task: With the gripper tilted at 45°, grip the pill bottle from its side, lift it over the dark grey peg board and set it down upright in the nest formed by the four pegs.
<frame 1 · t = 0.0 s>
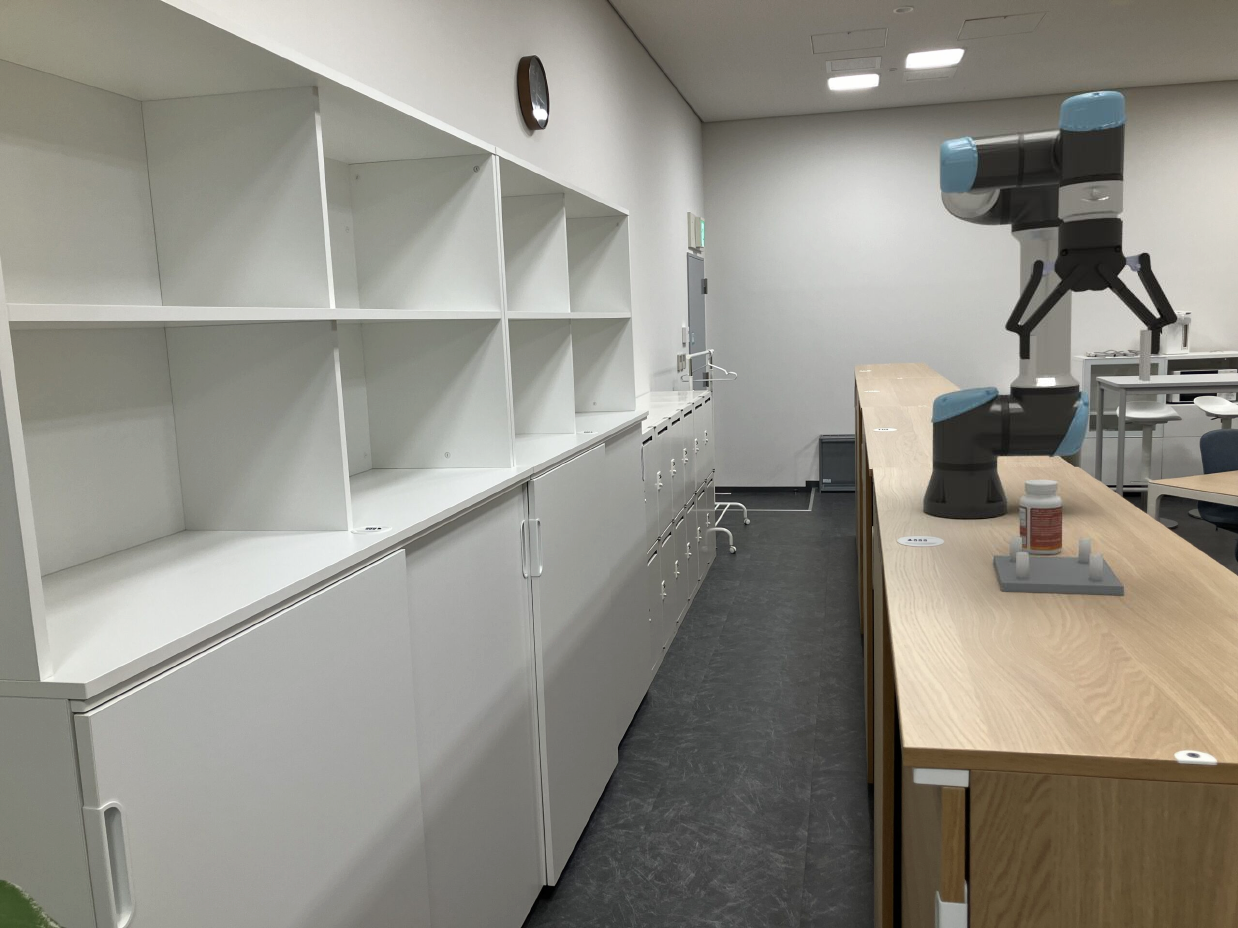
hand: (1087, 382, 124), 28 cm above the worktop, tool pointing down, fingers open, 13 cm apart
peg board: (1054, 577, 133), on the worktop
pill bottle: (1040, 551, 148), on the worktop
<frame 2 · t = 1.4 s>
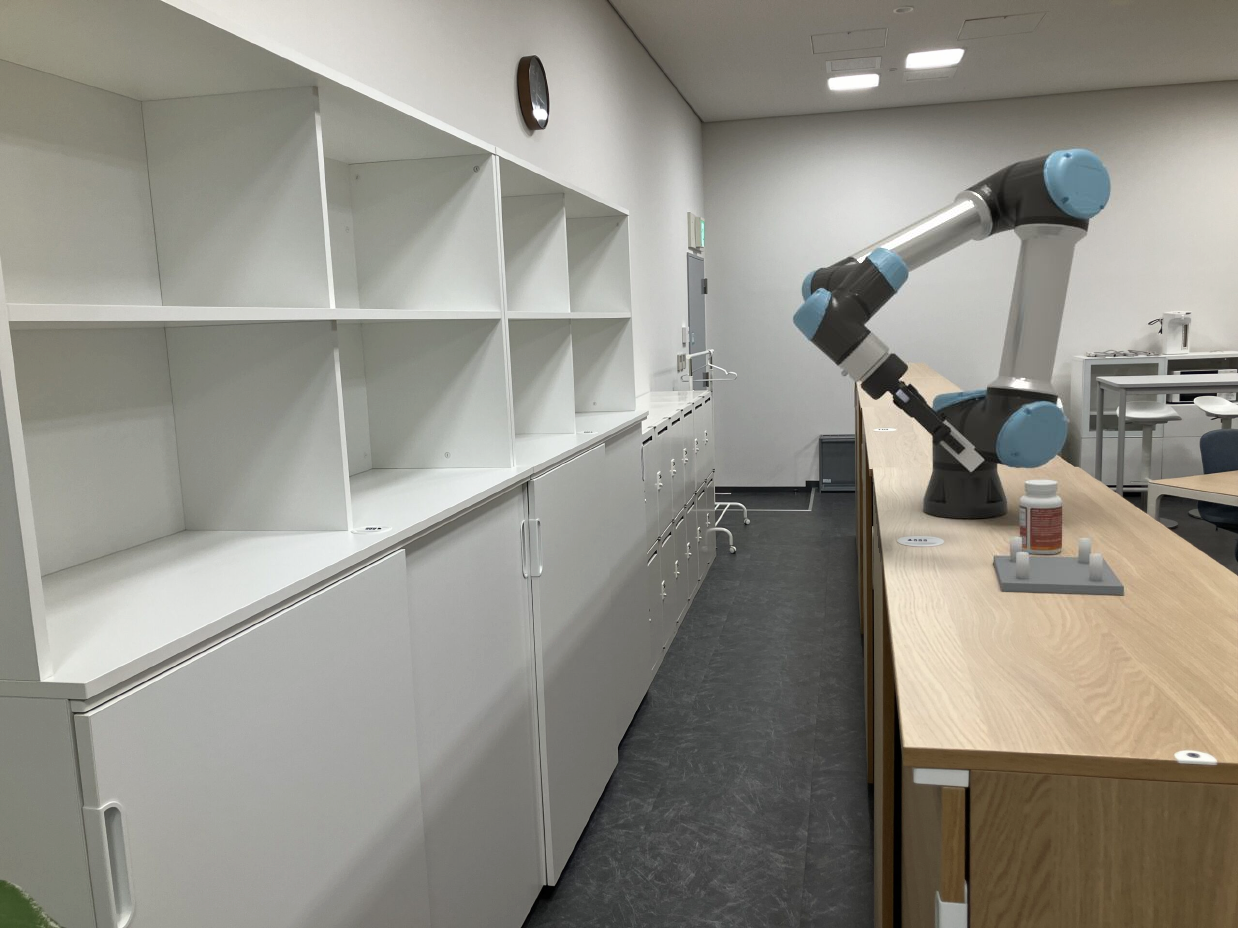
hand: (973, 459, 148), 15 cm above the worktop, tool tilted 45°, fingers open, 13 cm apart
nothing on the worktop moved.
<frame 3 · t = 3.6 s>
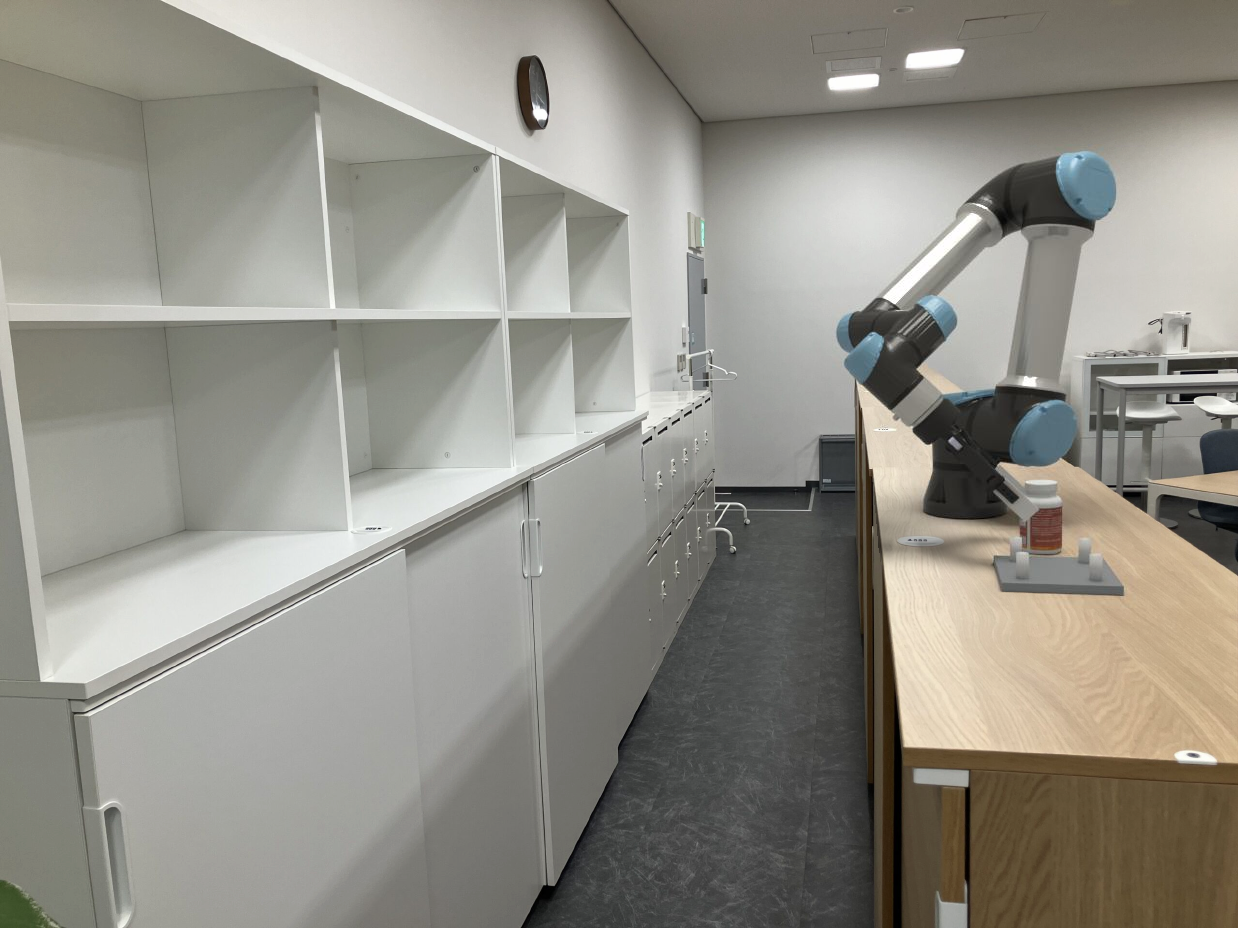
hand: (1027, 506, 146), 7 cm above the worktop, tool tilted 45°, fingers open, 13 cm apart
nothing on the worktop moved.
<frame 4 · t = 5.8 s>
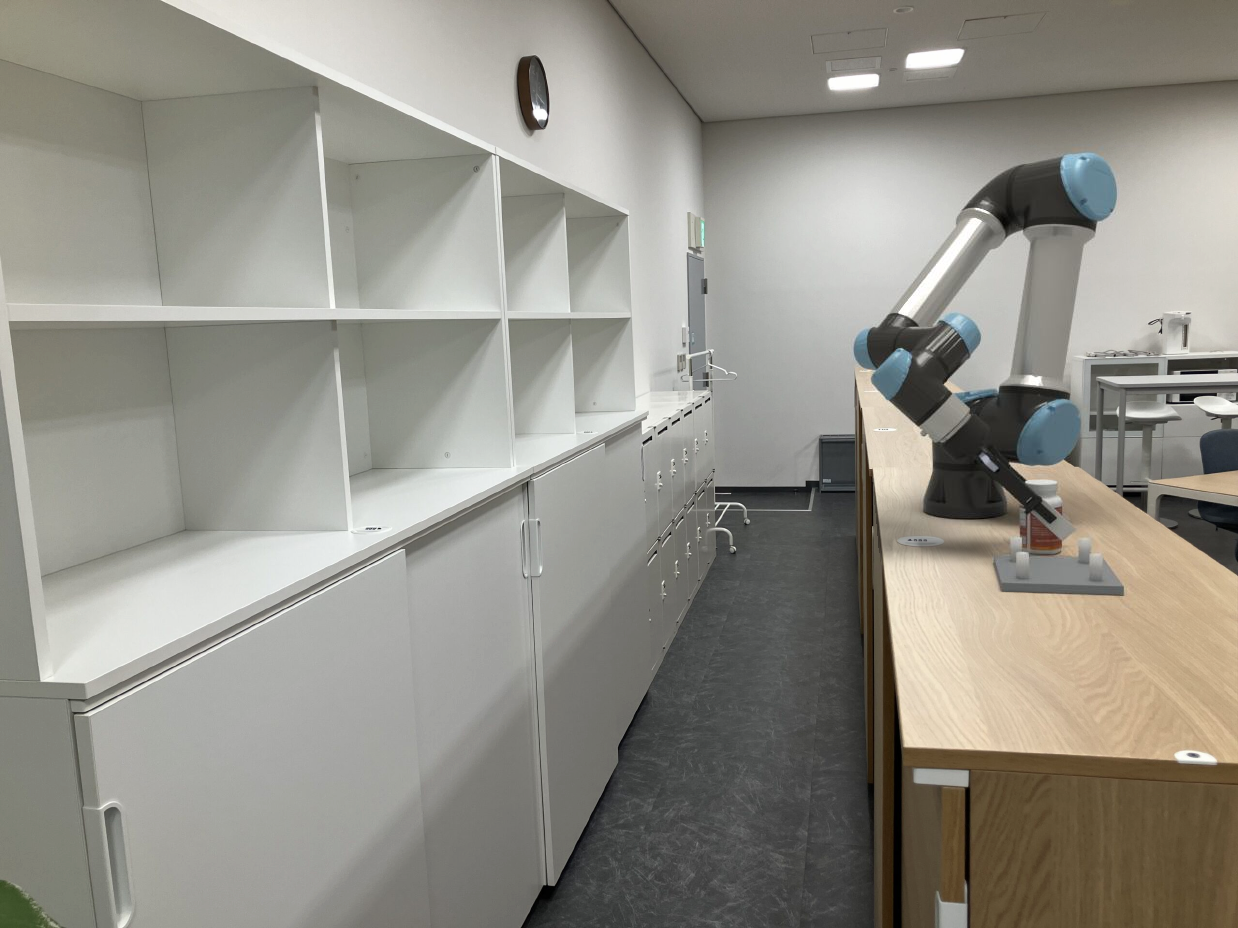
hand: (1065, 529, 146), 3 cm above the worktop, tool tilted 45°, fingers closed on pill bottle, 6 cm apart
pill bottle: (1040, 551, 148), on the worktop, touching gripper
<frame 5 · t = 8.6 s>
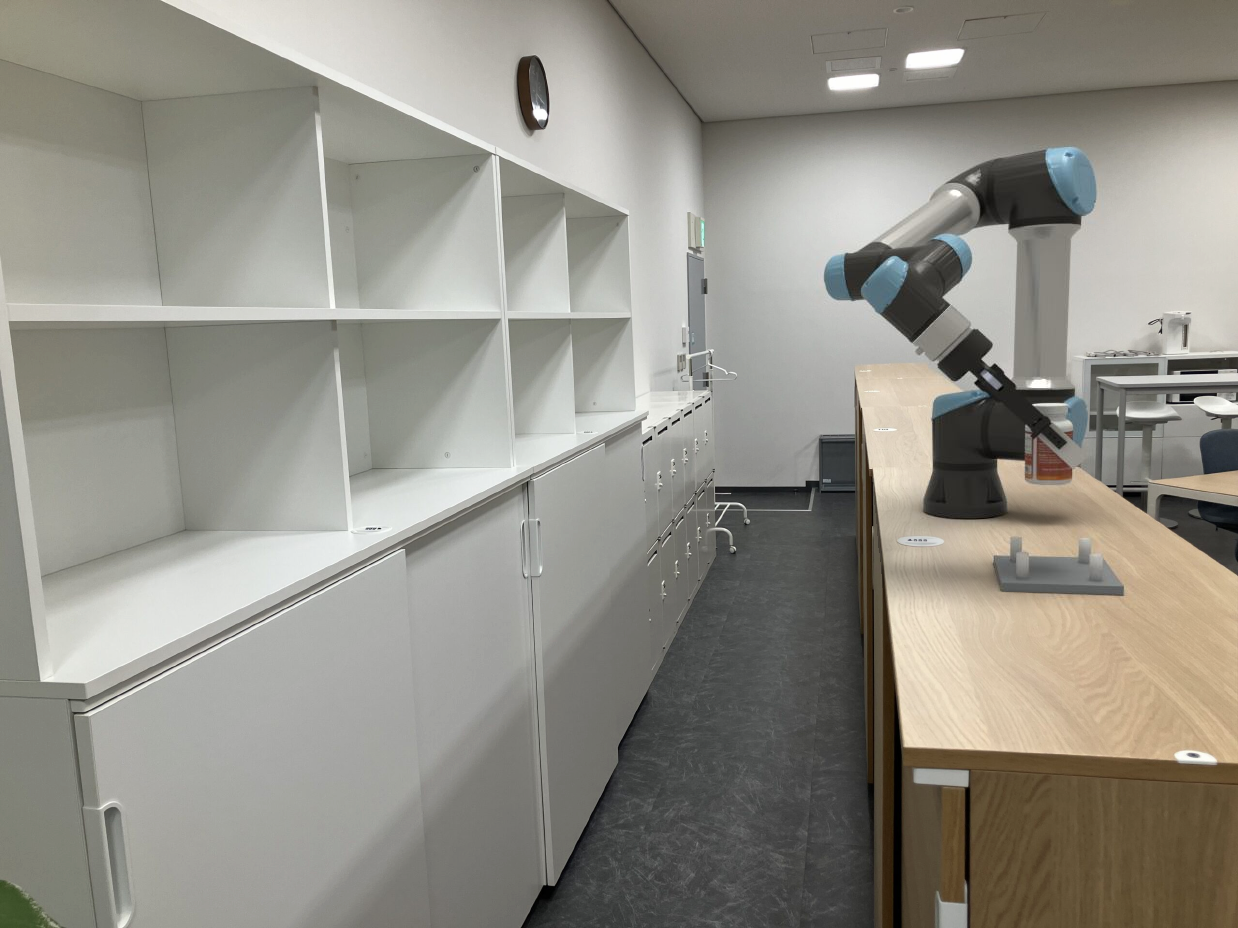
hand: (1077, 458, 130), 17 cm above the worktop, tool tilted 45°, fingers closed on pill bottle, 6 cm apart
pill bottle: (1047, 483, 132), point 13 cm above the worktop, touching gripper
when the fingers open (6 cm above the worktop, at t = 11.6 s): pill bottle drops 1 cm, resting on peg board.
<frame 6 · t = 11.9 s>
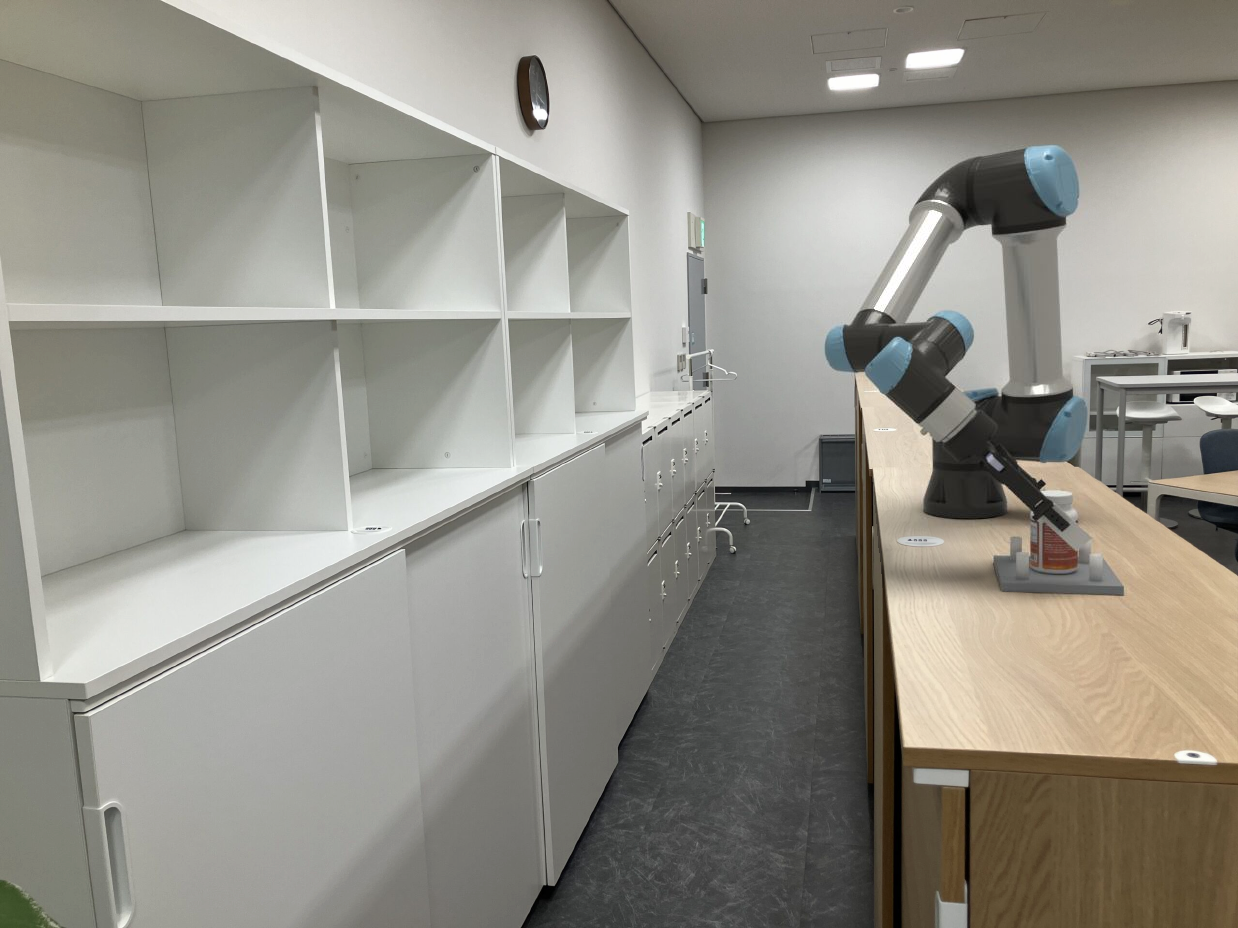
hand: (1077, 534, 131), 6 cm above the worktop, tool tilted 45°, fingers open, 10 cm apart
pill bottle: (1053, 570, 133), point 1 cm above the worktop, touching peg board
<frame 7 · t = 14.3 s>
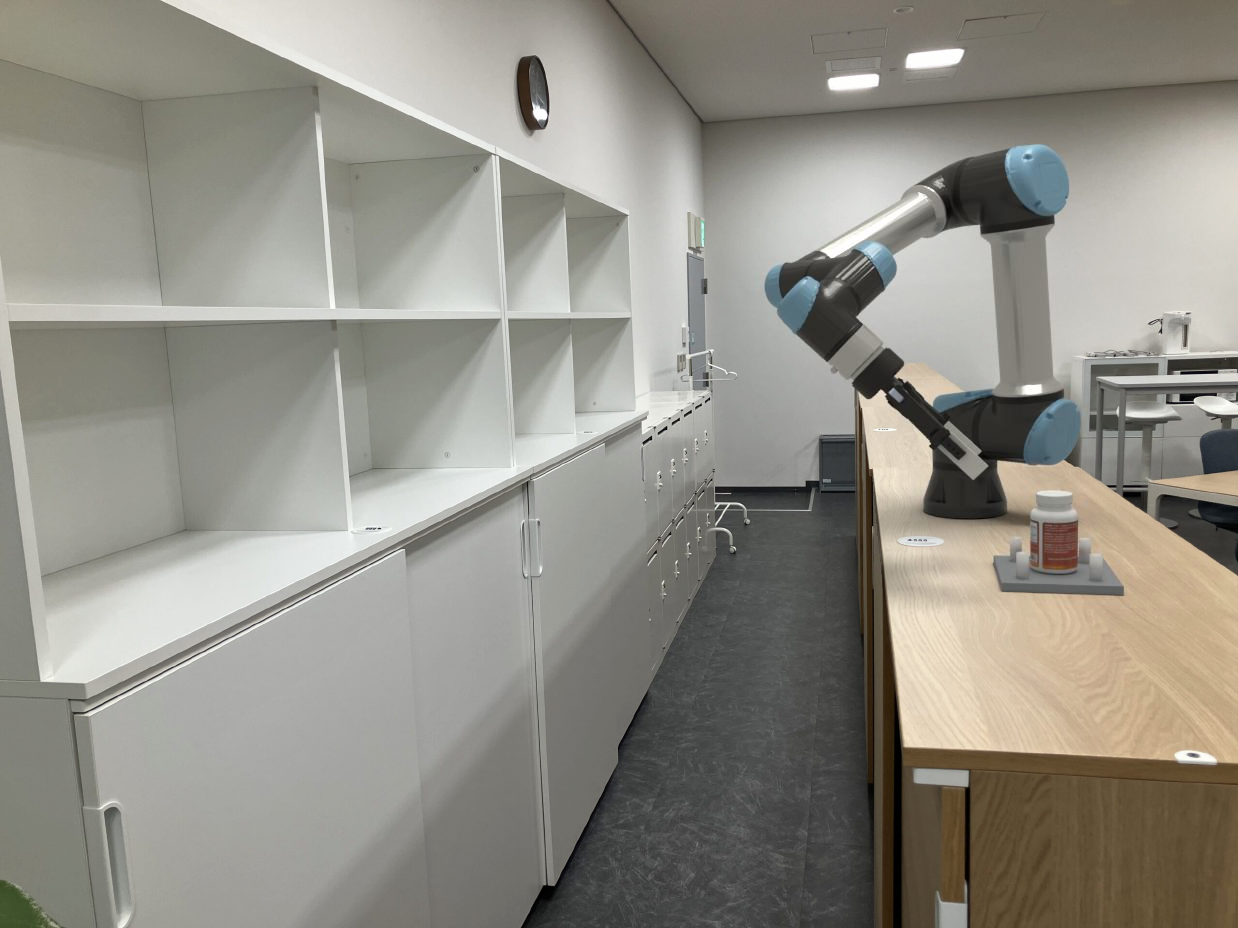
hand: (977, 464, 133), 16 cm above the worktop, tool tilted 45°, fingers open, 13 cm apart
nothing on the worktop moved.
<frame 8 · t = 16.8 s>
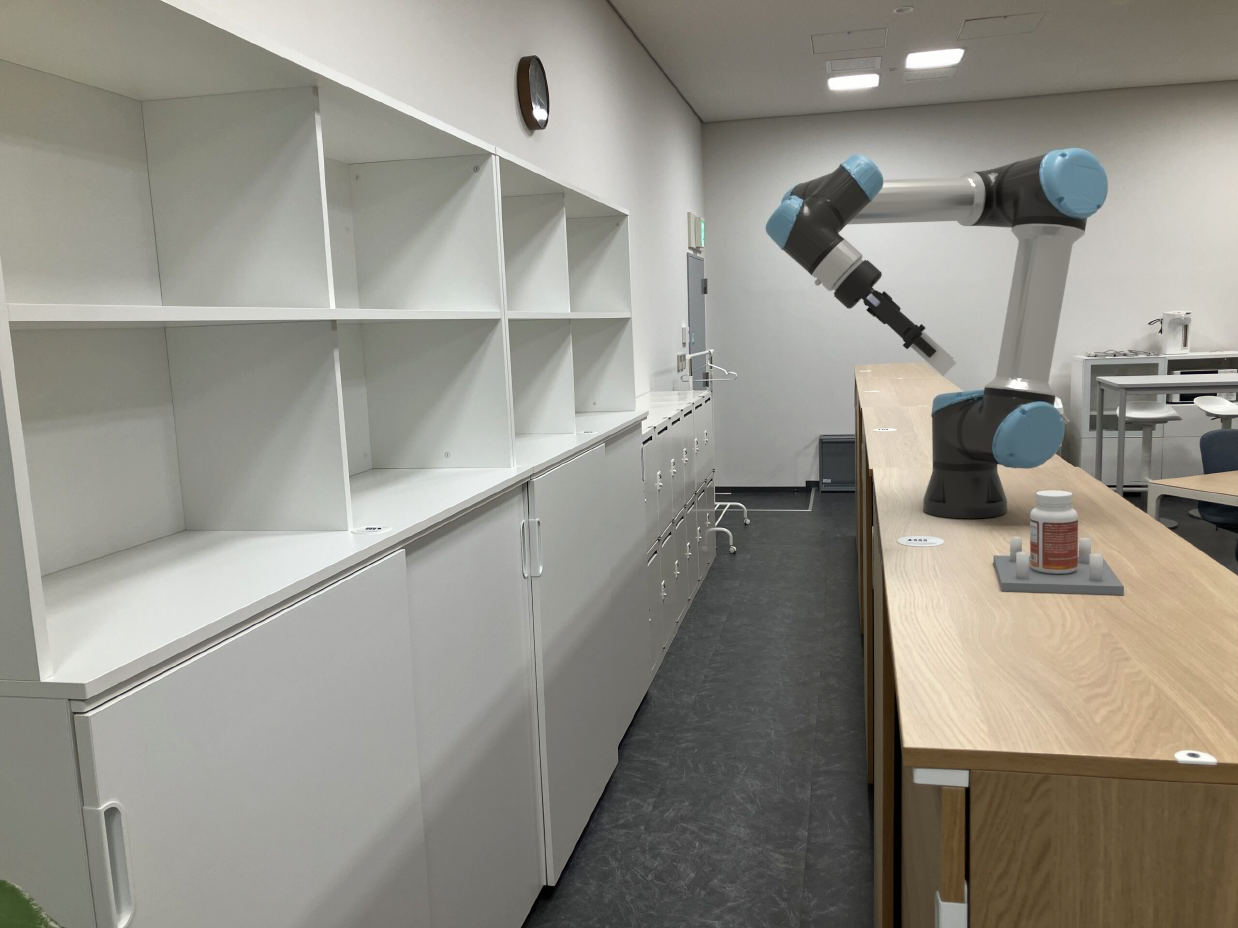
hand: (948, 367, 146), 30 cm above the worktop, tool tilted 45°, fingers open, 13 cm apart
nothing on the worktop moved.
at the end: pill bottle 0.2 cm off-centre on the peg board, point 1.0 cm above the peg board's base; pill bottle tilted 0°; the gripper is holding nothing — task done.
